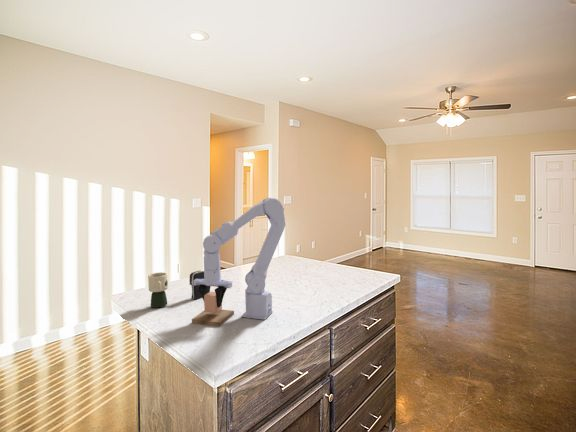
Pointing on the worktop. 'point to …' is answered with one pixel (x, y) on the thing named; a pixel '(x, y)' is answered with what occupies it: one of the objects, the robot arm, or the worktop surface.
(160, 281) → the character mug
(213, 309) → the terracotta block
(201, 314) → the walnut board
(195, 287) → the battery charger
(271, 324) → the worktop surface
